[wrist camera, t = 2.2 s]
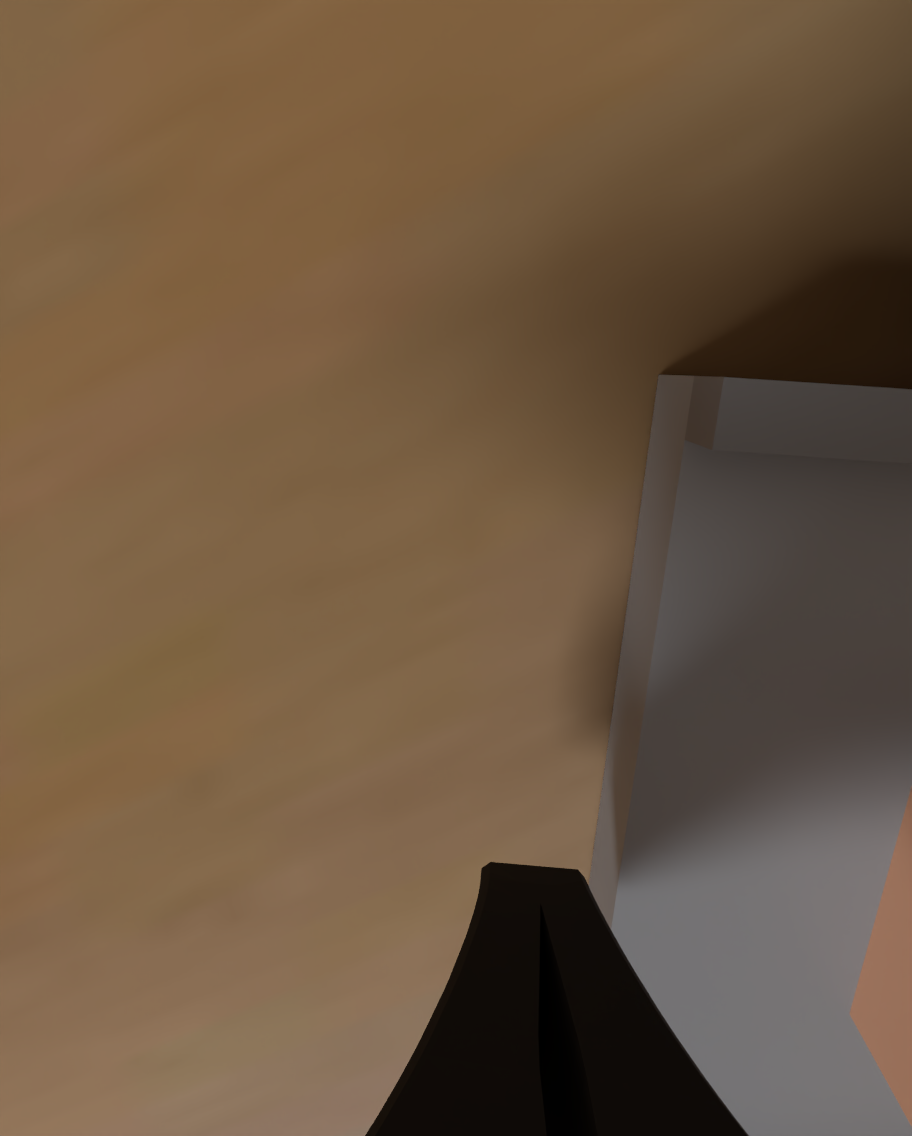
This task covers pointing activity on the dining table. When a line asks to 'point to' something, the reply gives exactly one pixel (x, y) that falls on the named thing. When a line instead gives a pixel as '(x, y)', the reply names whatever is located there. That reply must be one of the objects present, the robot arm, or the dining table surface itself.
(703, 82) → the dining table surface
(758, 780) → the trap tray
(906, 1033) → the block
